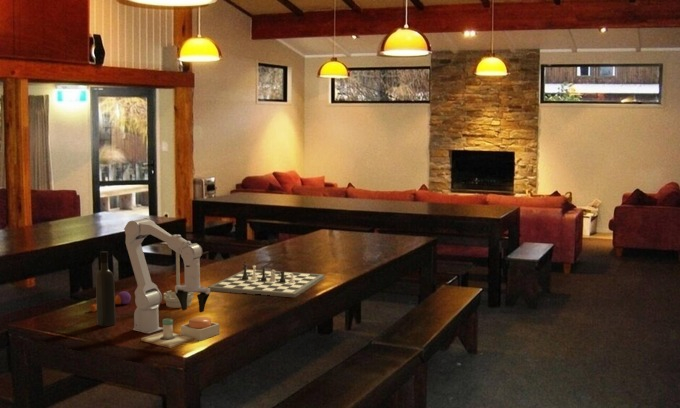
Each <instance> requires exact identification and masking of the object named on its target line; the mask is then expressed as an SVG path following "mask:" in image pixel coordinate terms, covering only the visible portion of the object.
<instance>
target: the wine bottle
mask: <svg viewBox="0 0 680 408" xmlns="http://www.w3.org/2000/svg"><path fill="white" fill-rule="evenodd" d="M99 253H100V254H99V256H100V257H99V258H100V270H99V271H98V272H97V274H96V275H95V293H96V304H97V311H96V324H97V325H96V326H99V327H103V328H107V327H112V326H115V325H116V304H115V296H116V295H115V293H116V292H115V276H114V273H113V272H112V271H111V270H110V269H109V258H108V257H109V251H108V250H107V251H106V250H103V251H100V252H99Z"/></svg>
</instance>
